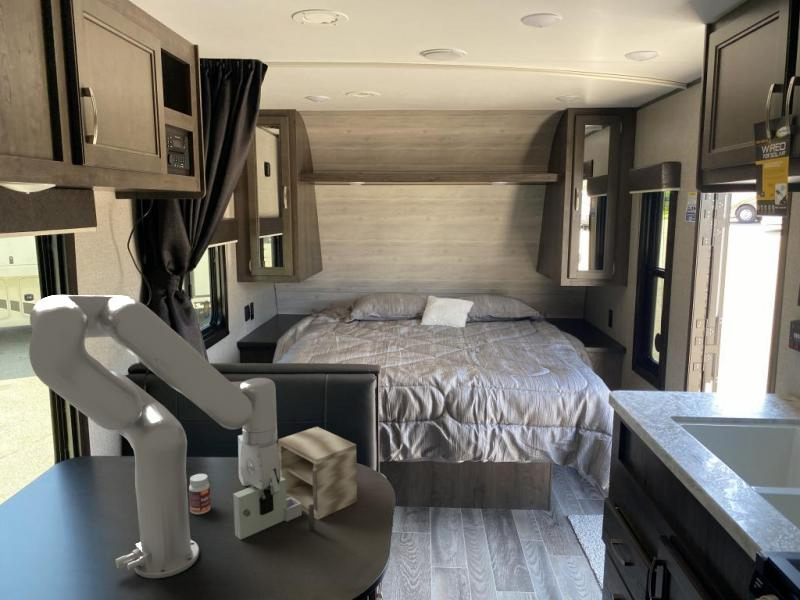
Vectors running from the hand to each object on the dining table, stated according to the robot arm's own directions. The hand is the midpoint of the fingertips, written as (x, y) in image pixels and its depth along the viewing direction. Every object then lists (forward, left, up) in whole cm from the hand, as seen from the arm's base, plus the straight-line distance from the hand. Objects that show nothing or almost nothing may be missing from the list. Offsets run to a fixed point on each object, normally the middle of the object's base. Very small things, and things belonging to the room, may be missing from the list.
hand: (263, 509), depth 130 cm
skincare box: (+9, +22, -4) cm, 24 cm away
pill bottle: (-7, +17, -4) cm, 19 cm away
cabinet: (+14, 0, -4) cm, 15 cm away
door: (+1, 0, -4) cm, 4 cm away
